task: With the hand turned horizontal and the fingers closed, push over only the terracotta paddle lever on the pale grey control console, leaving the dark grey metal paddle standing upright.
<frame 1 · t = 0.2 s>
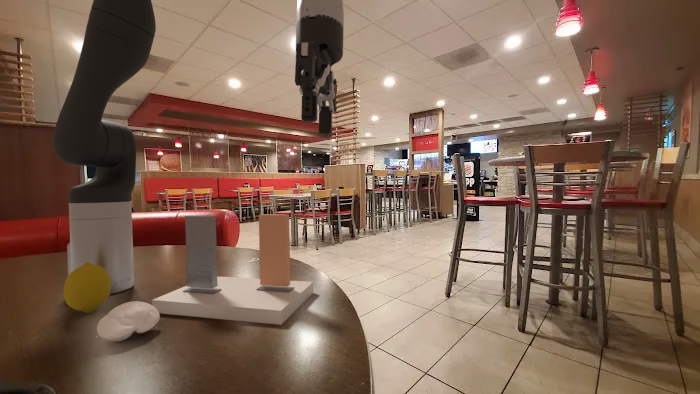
hand: (317, 128, 46), 29 cm above the table, tool pointing down, fingers open, 8 cm apart
grey paddle: (201, 251, 49), point 9 cm above the table, hinge at 0.0°
console: (239, 301, 49), on the table
lemon: (89, 314, 45), on the table
terracotta paddle: (274, 249, 49), point 9 cm above the table, hinge at 0.0°
dumpling: (129, 339, 38), on the table
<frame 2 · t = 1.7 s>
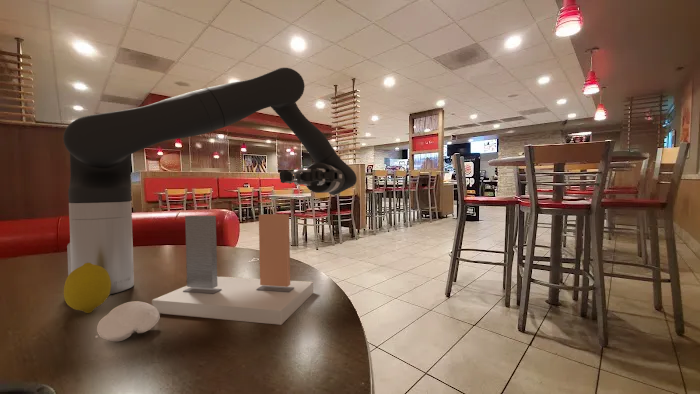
hand: (297, 175, 59), 22 cm above the table, tool horizontal, fingers open, 6 cm apart
nothing on the table moved.
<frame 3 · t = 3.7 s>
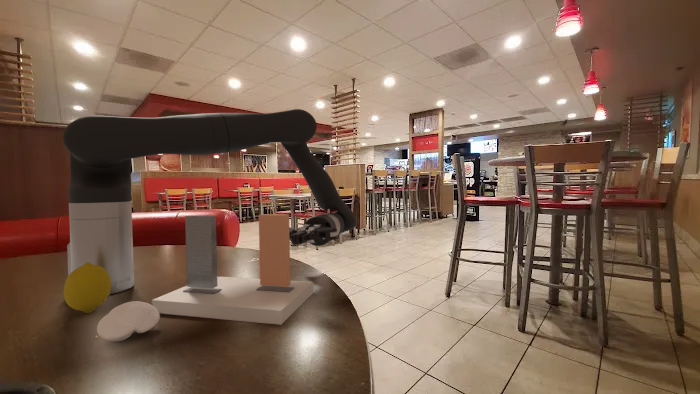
hand: (295, 239, 58), 9 cm above the table, tool horizontal, fingers closed
nothing on the table moved.
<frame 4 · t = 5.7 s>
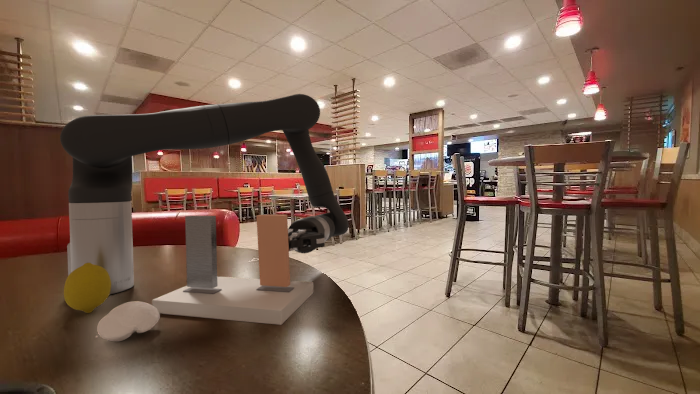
hand: (274, 248, 49), 9 cm above the table, tool horizontal, fingers closed
terracotta paddle: (273, 250, 49), point 9 cm above the table, hinge at 3.3°, touching gripper
everything else where it was.
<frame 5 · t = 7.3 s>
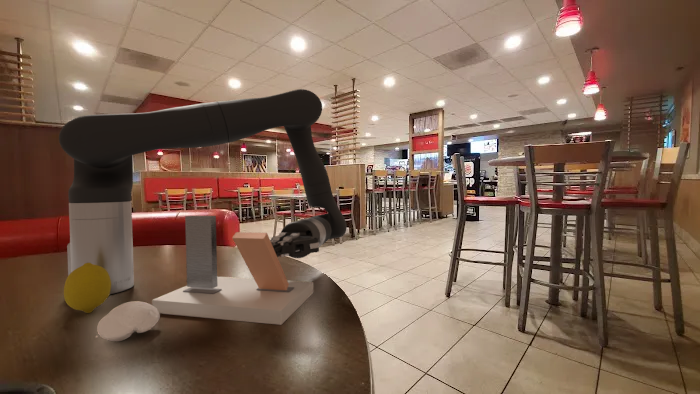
hand: (263, 254, 45), 9 cm above the table, tool horizontal, fingers closed
terracotta paddle: (262, 262, 45), point 8 cm above the table, hinge at 35.7°, touching gripper
everything else where it was.
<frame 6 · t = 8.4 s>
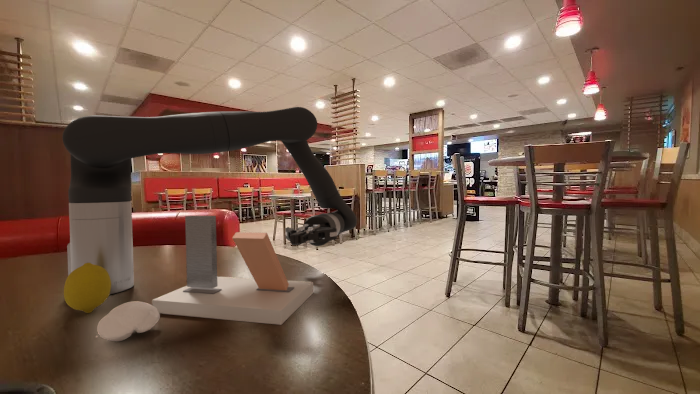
hand: (294, 240, 57), 9 cm above the table, tool horizontal, fingers closed
terracotta paddle: (262, 262, 45), point 8 cm above the table, hinge at 35.7°
everything else where it was.
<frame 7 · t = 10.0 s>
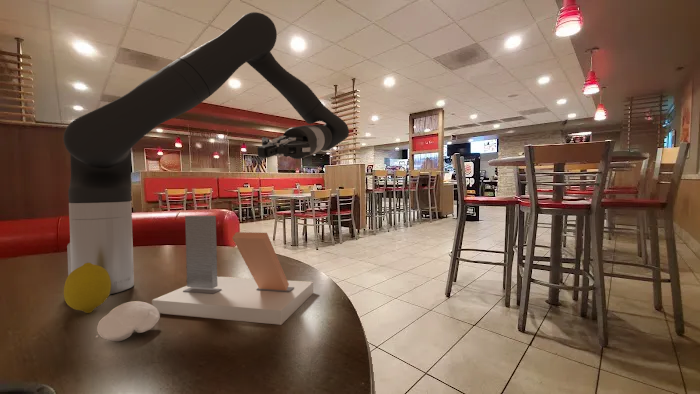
hand: (261, 152, 57), 26 cm above the table, tool tilted 75°, fingers closed
nothing on the table moved.
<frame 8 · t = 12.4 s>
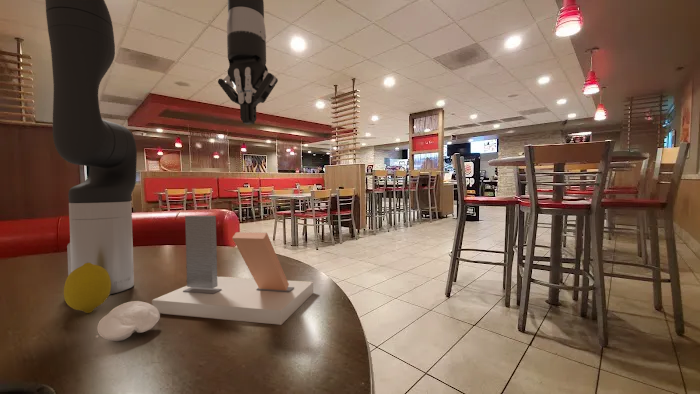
hand: (248, 123, 60), 33 cm above the table, tool pointing down, fingers closed
nothing on the table moved.
at the end: terracotta paddle at +36° (first picture: +0°); grey paddle at +0° (first picture: +0°) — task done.
